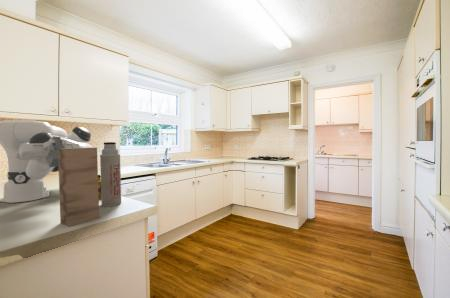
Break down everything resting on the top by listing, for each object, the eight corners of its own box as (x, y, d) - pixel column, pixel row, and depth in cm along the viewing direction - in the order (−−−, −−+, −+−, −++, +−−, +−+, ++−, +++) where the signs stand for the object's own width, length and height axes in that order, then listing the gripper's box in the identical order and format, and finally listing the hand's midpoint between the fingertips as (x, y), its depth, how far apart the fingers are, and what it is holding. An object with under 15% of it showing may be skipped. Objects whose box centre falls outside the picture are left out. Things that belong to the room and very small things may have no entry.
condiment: (103, 200, 106) (102, 175, 106) (82, 203, 102) (81, 177, 101) (102, 197, 113) (101, 173, 112) (82, 199, 108) (81, 175, 107)
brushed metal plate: (39, 140, 85) (42, 131, 82) (68, 139, 93) (72, 132, 91) (49, 167, 80) (53, 158, 78) (79, 164, 89) (83, 156, 87)
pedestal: (60, 223, 77) (57, 148, 76) (90, 214, 85) (88, 147, 84) (68, 226, 73) (65, 148, 72) (99, 217, 82) (97, 147, 81)
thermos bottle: (124, 203, 100) (122, 142, 99) (105, 207, 95) (103, 142, 94) (117, 200, 106) (115, 142, 105) (98, 203, 100) (97, 142, 99)
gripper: (12, 152, 86) (22, 133, 79) (71, 150, 103) (83, 134, 96) (15, 166, 84) (25, 148, 77) (74, 161, 101) (87, 147, 95)
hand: (58, 140), depth 87 cm, fingers closed on brushed metal plate, 2 cm apart
